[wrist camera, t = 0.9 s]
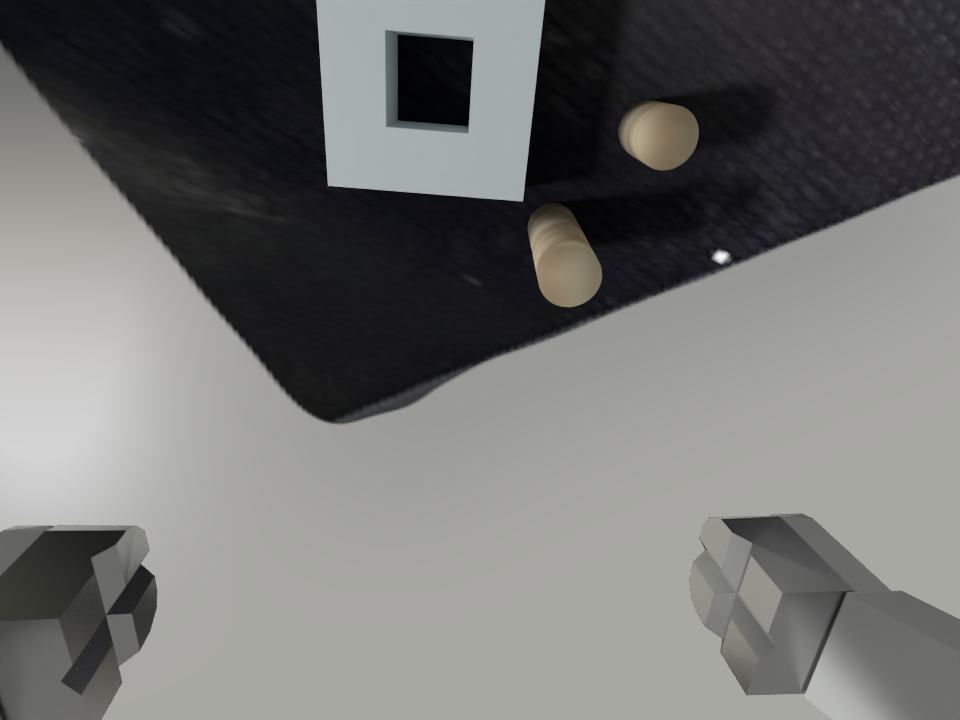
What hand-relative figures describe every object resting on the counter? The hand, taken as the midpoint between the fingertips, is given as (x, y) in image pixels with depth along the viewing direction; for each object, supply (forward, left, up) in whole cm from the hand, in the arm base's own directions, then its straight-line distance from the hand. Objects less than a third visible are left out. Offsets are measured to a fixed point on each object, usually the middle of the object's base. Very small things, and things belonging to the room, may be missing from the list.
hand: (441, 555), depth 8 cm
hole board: (+4, -5, -39) cm, 39 cm away
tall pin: (-6, +5, -39) cm, 39 cm away
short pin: (-12, -3, -39) cm, 41 cm away
